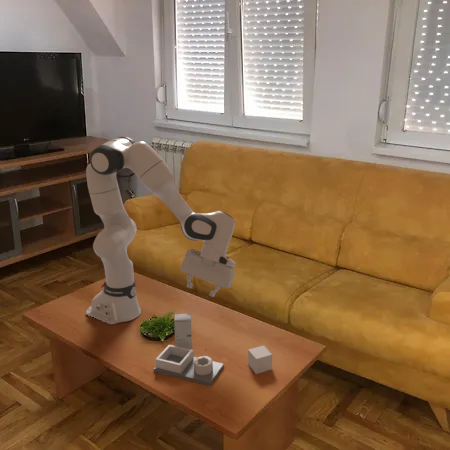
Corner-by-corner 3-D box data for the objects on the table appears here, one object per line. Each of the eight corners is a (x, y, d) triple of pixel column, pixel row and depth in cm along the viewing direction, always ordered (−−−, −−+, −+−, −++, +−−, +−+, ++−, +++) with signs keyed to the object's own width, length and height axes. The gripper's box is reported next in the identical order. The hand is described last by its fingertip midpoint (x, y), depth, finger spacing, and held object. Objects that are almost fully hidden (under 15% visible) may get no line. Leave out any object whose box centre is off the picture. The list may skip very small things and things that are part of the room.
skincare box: (175, 349, 185) (173, 320, 181) (175, 342, 189) (174, 313, 185) (192, 348, 185) (190, 319, 181) (192, 342, 189) (191, 313, 185)
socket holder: (153, 371, 173) (152, 360, 171) (169, 353, 182) (168, 342, 181) (210, 385, 165) (209, 374, 164) (223, 366, 175) (223, 355, 173)
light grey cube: (256, 374, 170) (256, 358, 168) (248, 364, 176) (248, 349, 174) (272, 369, 173) (272, 354, 171) (263, 360, 178) (263, 345, 176)
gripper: (184, 246, 187) (171, 282, 186) (234, 263, 179) (221, 301, 178) (191, 248, 193) (179, 283, 192) (240, 265, 185) (227, 301, 184)
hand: (200, 292), depth 185 cm, fingers open, 8 cm apart
